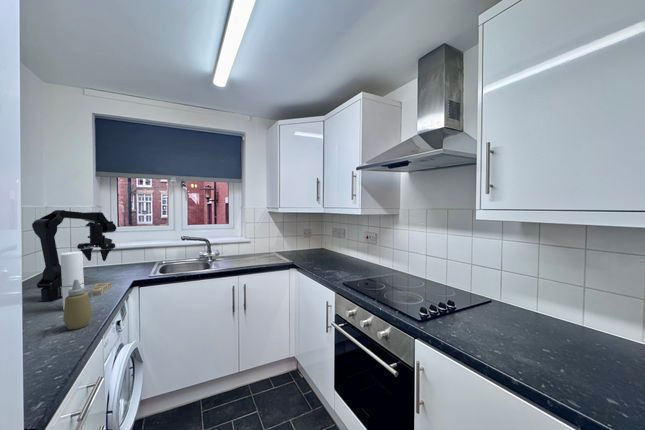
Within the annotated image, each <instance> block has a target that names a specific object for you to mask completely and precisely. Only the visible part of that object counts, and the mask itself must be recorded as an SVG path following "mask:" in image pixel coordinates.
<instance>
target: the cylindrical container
mask: <svg viewBox="0 0 645 430" xmlns="http://www.w3.org/2000/svg"><path fill="white" fill-rule="evenodd" d="M83 255H84V254H83V253H82V251H67V252H63V253H60V265H61V275H62V286H61V294H62V296H63V298H62V307H63V311H64V307H65V298H66V297H67V296H69V295H68V291H69V290H71V289H72V287H73V283H74V280H79V283H80V286H81V288H84V286H85V279H84V278H85V277H84V260H83V257H84V256H83Z"/></svg>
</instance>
